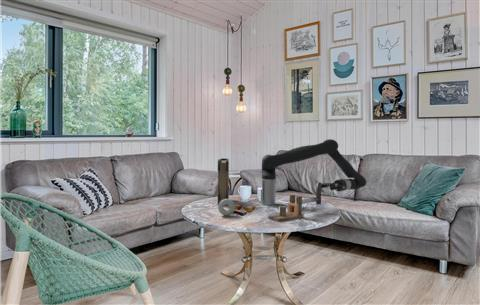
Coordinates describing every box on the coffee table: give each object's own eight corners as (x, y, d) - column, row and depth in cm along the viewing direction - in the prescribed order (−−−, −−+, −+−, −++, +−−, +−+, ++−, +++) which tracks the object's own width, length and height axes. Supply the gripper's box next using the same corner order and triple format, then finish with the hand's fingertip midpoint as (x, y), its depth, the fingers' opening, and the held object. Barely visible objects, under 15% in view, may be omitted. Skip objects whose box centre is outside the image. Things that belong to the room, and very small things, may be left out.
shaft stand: (268, 218, 203) (268, 197, 203) (292, 214, 214) (292, 194, 214) (278, 221, 196) (279, 200, 195) (303, 217, 207) (303, 196, 206)
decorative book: (228, 205, 237) (228, 160, 235) (217, 205, 237) (217, 160, 235) (229, 198, 260) (229, 157, 258) (219, 198, 260) (219, 157, 258)
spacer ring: (287, 213, 211) (287, 202, 210) (290, 212, 212) (290, 202, 211) (296, 215, 205) (296, 205, 205) (298, 214, 206) (298, 204, 206)
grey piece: (296, 206, 212) (297, 184, 211) (318, 203, 223) (318, 182, 222) (300, 207, 210) (300, 185, 209) (322, 204, 220) (322, 182, 219)
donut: (218, 216, 207) (218, 199, 206) (217, 215, 210) (217, 198, 209) (235, 216, 208) (235, 199, 207) (234, 214, 211) (234, 198, 211)
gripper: (333, 178, 238) (316, 180, 229) (351, 180, 226) (334, 182, 217) (333, 189, 239) (316, 191, 229) (351, 192, 227) (334, 195, 218)
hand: (325, 187), depth 223 cm, fingers open, 8 cm apart
